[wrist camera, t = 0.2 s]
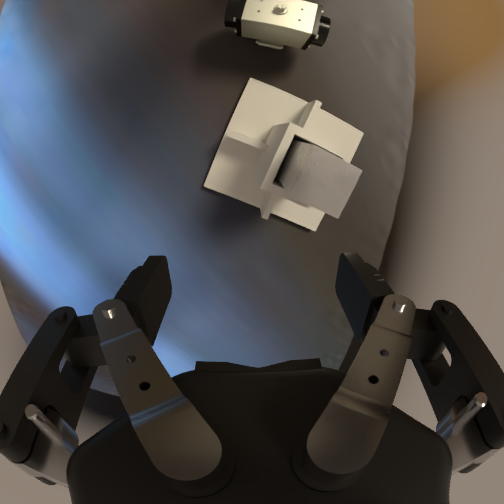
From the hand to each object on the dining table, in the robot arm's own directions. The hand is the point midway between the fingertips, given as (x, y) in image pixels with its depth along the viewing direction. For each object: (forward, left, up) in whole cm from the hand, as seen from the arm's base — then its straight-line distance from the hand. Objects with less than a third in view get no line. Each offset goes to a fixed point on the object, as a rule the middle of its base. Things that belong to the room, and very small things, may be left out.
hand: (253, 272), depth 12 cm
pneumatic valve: (-21, -5, -29) cm, 36 cm away
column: (-5, +4, -27) cm, 28 cm away
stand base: (-5, +4, -29) cm, 30 cm away
